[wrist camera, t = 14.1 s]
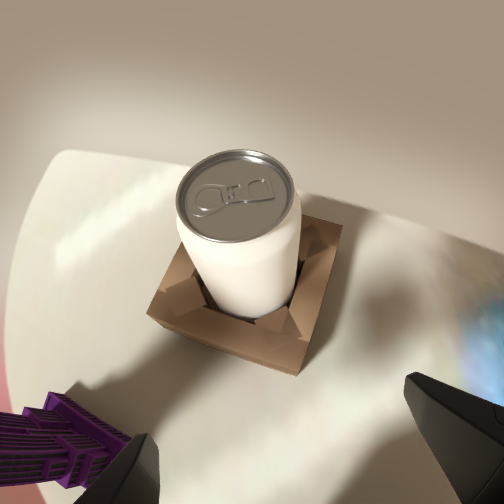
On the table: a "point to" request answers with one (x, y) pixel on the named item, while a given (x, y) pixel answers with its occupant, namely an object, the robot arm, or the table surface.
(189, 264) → the socket block
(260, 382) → the table surface
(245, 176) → the can
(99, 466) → the building model
